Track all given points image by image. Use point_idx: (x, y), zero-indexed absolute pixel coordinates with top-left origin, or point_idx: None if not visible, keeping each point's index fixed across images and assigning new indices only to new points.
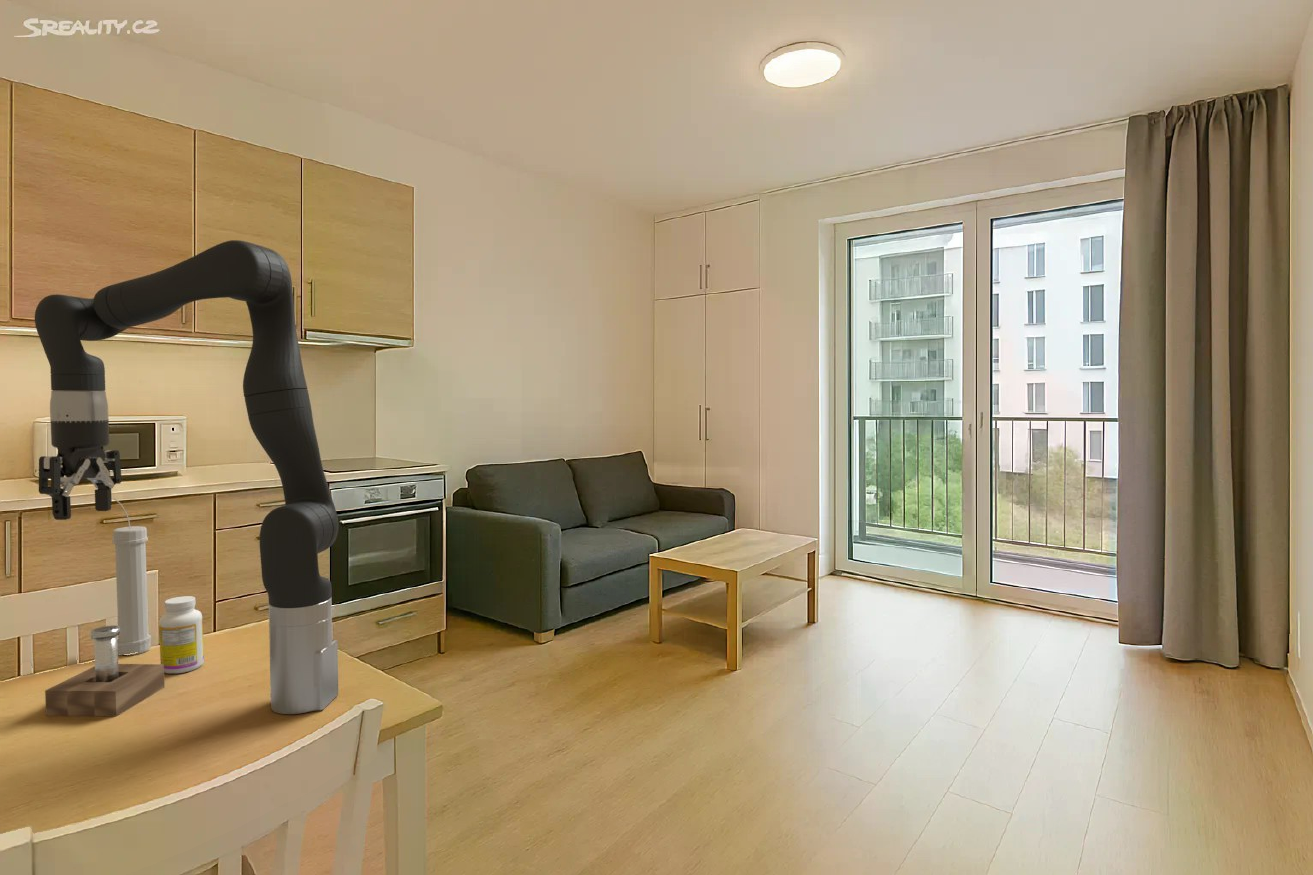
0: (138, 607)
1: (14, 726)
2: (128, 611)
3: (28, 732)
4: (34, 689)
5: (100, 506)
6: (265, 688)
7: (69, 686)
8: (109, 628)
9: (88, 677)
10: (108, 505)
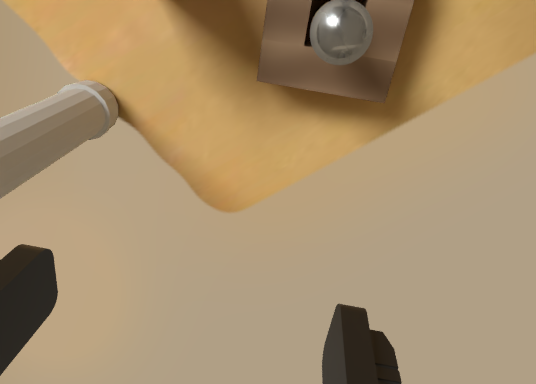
0: (53, 113)
1: (411, 116)
2: (69, 128)
3: (443, 80)
4: (262, 171)
5: (39, 298)
6: None
7: (373, 70)
8: (335, 25)
9: None
10: (25, 262)
